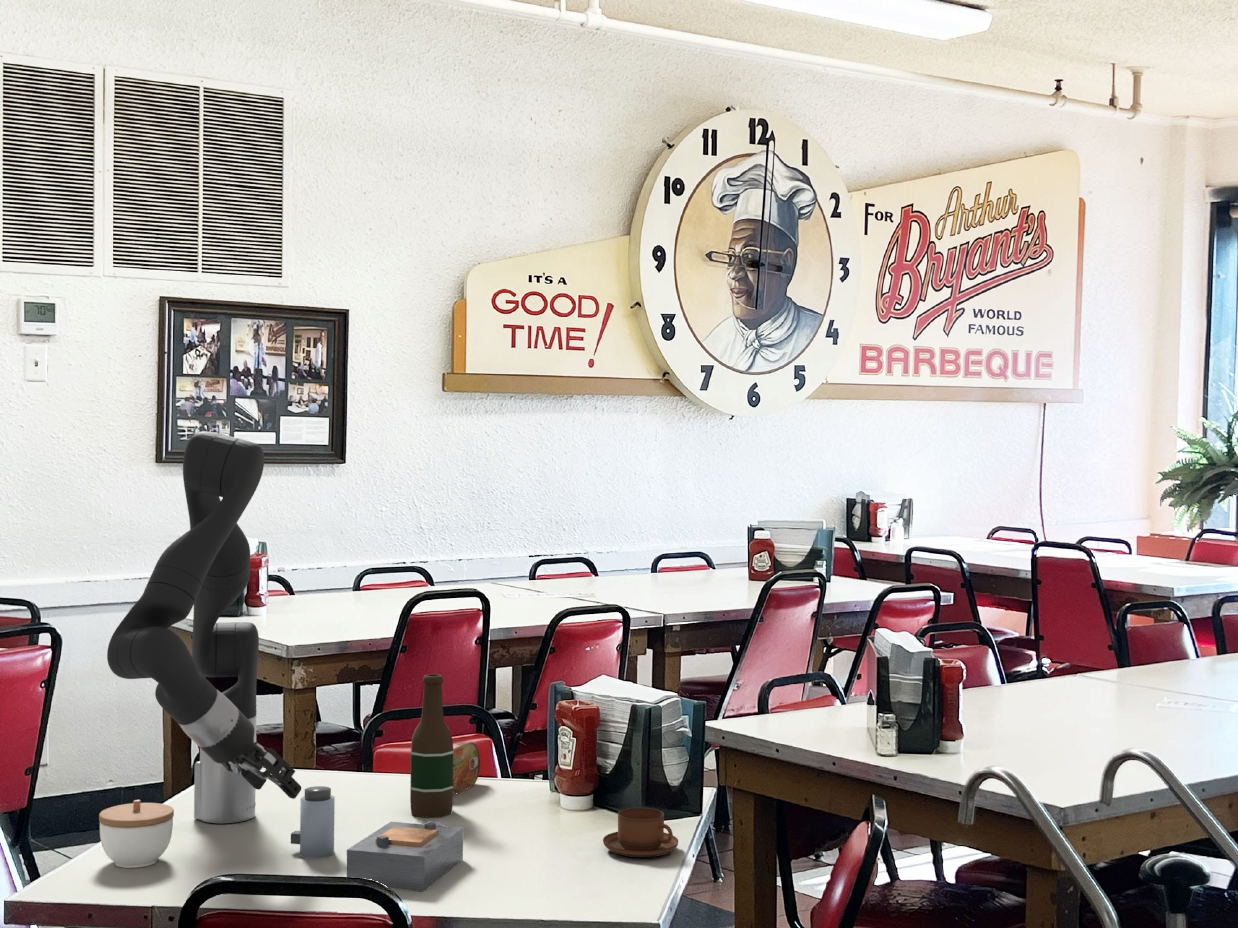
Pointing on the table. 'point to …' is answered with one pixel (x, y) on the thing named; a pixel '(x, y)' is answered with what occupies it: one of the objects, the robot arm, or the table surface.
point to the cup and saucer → (641, 834)
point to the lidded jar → (136, 833)
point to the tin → (465, 766)
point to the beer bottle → (431, 756)
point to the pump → (316, 823)
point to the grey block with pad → (407, 854)
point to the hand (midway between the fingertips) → (279, 788)
